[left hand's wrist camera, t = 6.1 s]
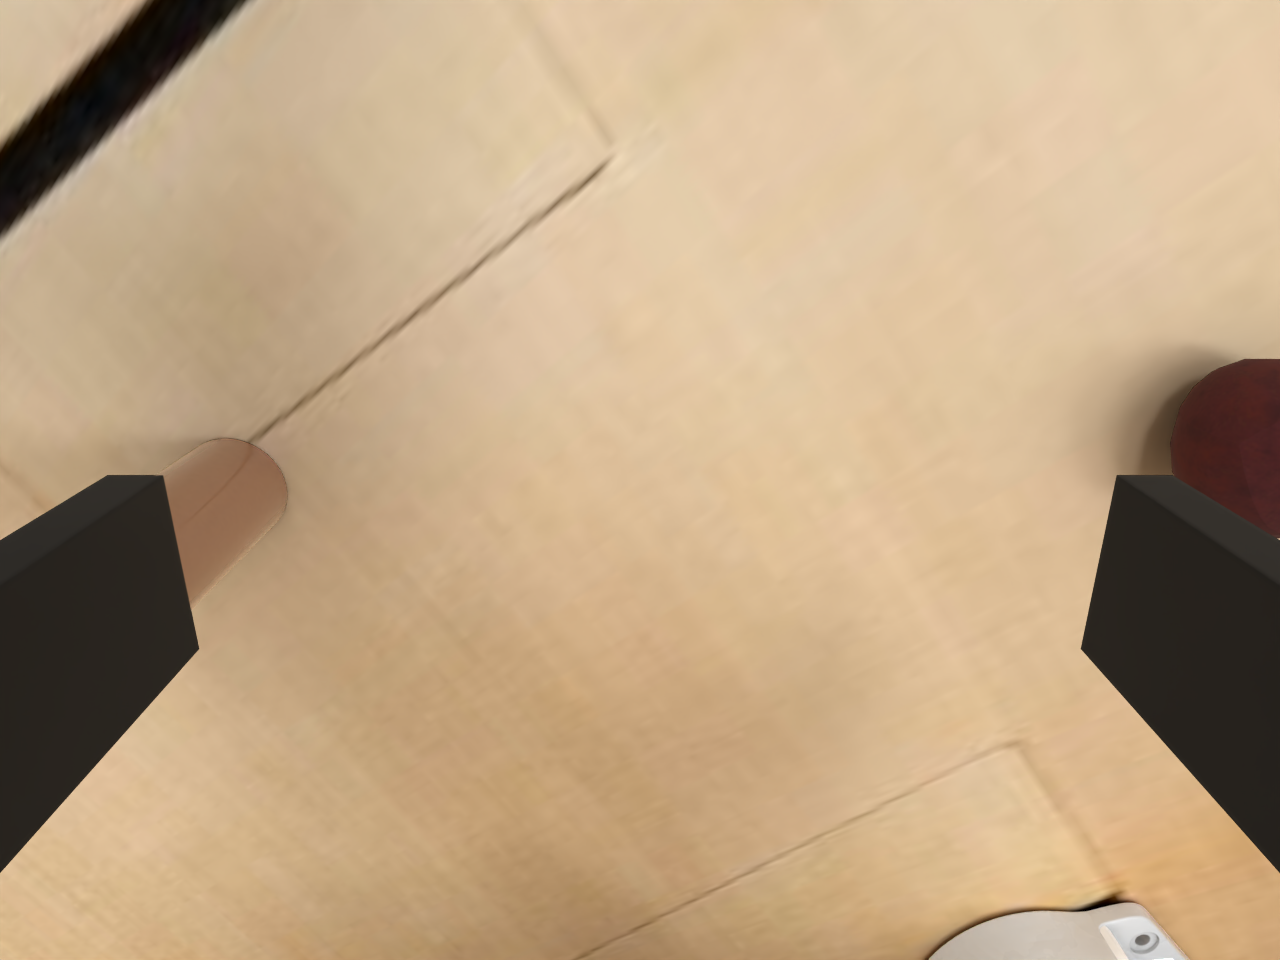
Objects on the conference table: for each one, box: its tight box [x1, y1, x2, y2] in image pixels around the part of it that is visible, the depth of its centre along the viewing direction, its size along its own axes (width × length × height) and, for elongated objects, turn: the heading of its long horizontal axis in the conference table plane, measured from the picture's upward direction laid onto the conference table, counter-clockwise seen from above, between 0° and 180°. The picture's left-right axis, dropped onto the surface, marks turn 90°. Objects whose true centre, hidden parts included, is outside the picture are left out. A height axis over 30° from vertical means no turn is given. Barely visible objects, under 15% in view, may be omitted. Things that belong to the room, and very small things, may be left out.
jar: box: [156, 439, 287, 610], centre depth 34 cm, size 5×5×16 cm
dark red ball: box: [1170, 359, 1280, 538], centre depth 37 cm, size 7×8×7 cm
